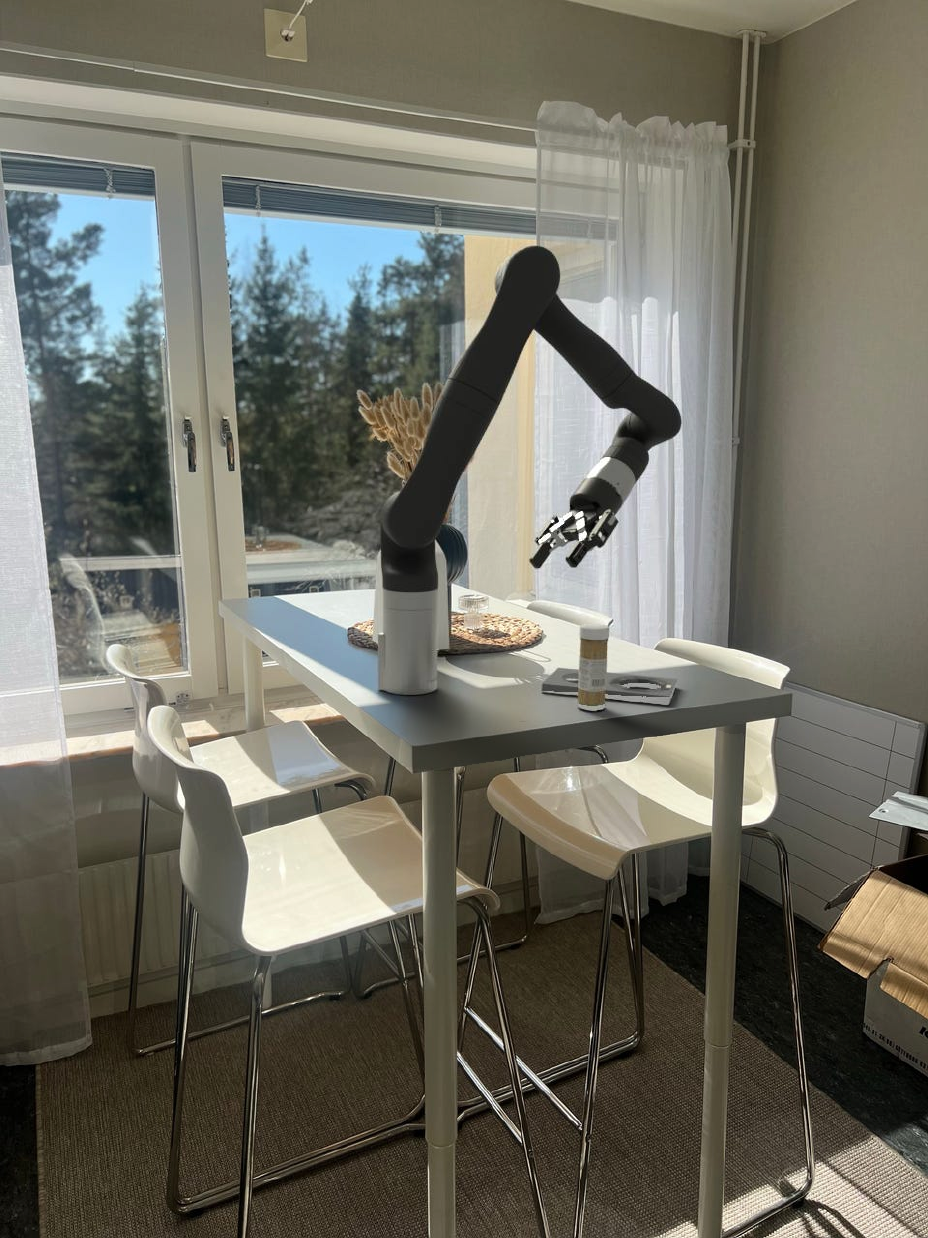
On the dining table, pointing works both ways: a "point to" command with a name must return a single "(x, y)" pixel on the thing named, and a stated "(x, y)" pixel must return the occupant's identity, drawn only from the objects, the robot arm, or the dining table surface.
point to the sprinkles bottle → (593, 664)
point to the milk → (442, 600)
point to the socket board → (609, 683)
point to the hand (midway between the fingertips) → (551, 564)
